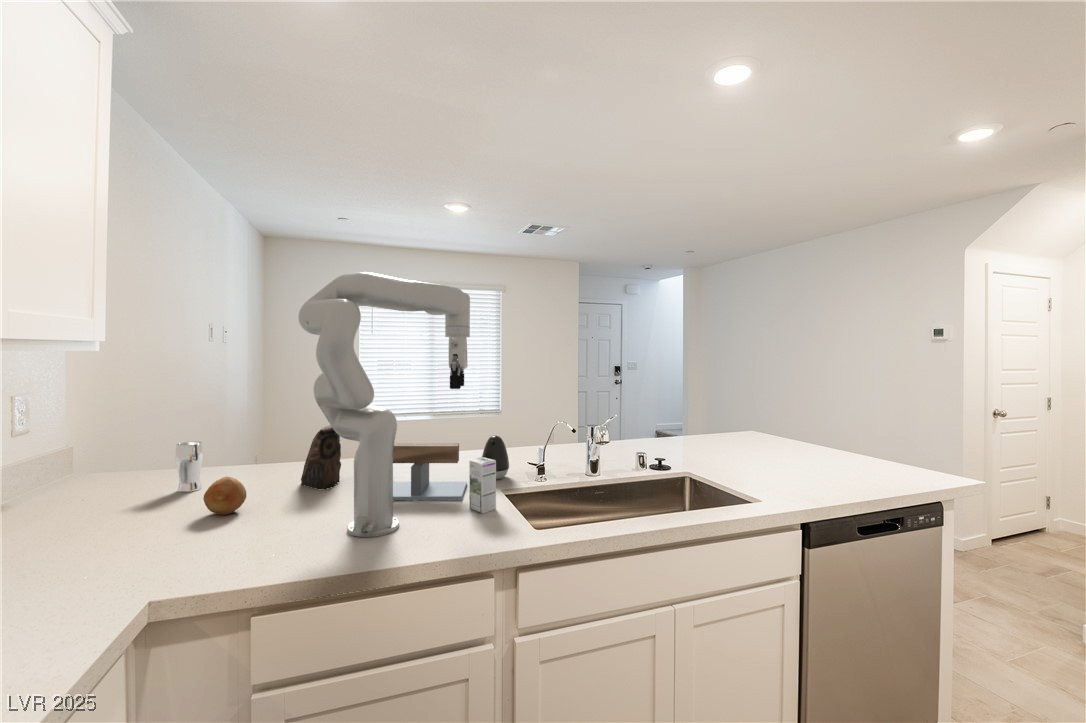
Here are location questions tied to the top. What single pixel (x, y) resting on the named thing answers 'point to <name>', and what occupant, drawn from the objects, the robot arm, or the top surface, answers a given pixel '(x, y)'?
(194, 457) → the beer glass
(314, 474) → the owl
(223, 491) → the onion
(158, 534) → the top surface
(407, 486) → the balance stand
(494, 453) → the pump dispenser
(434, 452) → the walnut bar
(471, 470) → the syrup box
